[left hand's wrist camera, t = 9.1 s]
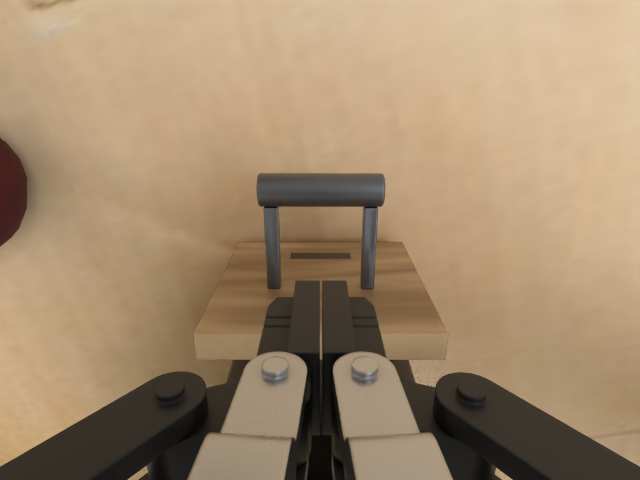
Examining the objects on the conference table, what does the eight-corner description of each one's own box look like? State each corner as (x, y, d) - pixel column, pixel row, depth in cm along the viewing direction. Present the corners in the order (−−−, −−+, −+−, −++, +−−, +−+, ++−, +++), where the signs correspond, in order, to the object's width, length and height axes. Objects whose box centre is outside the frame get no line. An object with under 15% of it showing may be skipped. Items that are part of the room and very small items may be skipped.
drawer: (232, 151, 23) (175, 198, 14) (409, 151, 23) (466, 198, 14) (257, 493, 32) (232, 653, 23) (383, 493, 32) (407, 653, 23)
